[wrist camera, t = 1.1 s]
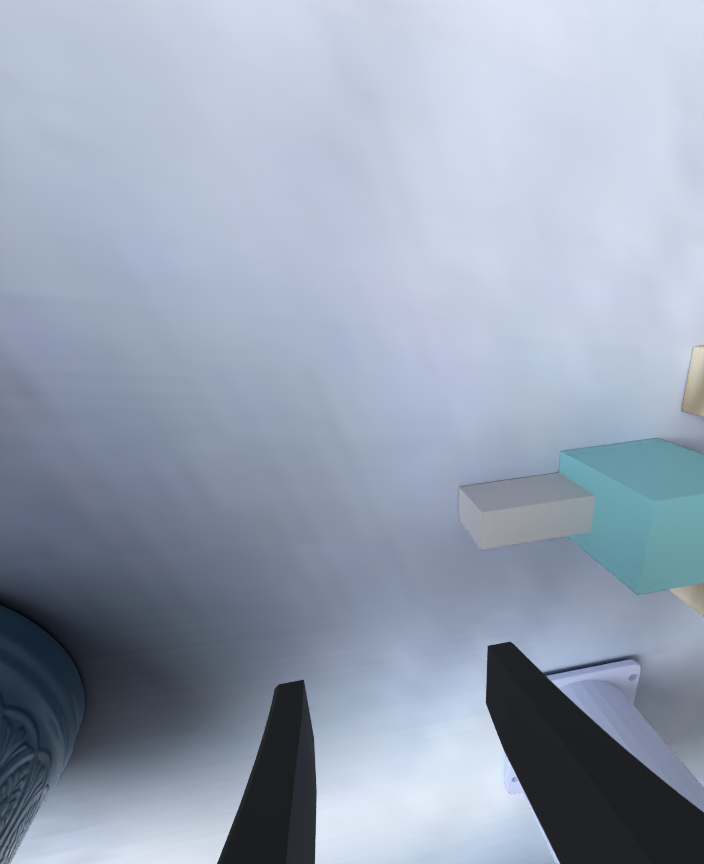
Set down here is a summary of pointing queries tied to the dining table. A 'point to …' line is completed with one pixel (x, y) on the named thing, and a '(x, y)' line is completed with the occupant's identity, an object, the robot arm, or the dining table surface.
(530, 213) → the dining table surface
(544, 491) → the plug
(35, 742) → the canister
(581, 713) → the robot arm
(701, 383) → the channel
